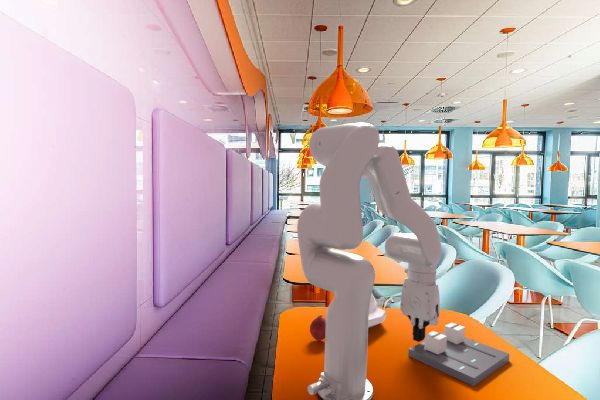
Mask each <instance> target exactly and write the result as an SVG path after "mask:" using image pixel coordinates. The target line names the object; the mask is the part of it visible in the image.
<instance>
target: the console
mask: <svg viewBox="0 0 600 400" xmlns="http://www.w3.org/2000/svg"><path fill="white" fill-rule="evenodd" d="M440 333H441V334H443V335H444V331H443V332H440ZM408 357H410V358H412V359H415V360H416V361H419V362H421V363H422V364H423V363H424V364H425V365H428V366H429V367H431V368H434V369H435V370H438V371H441V372H442V373H444V374H447V375H449V376H450V377H453V378H455V379H457V380H458V381H462V382H463V383H466V384H467V385H470V386H472V387H475V386H476V385H478V384H480V382H482V381H484V380H485V379H487V378H488V377H489V376H490V375H492V374H493V373H494V372H495V371H497V370H498V369H500V368H502V367H503V366H504V365H505V364H507V363H509V362H510V353H509V352H506V351H504V350H500V349H497V348H495V347H492V346H490V345H486V344H485V343H482V342H479V341H476V340H473V339H471V338H468V337H467V336H465V337H464V341H463V342H461V343H459V344H455V343H453V342H450V341H447V342H446V351H444V352H442V353H440V354H435V353H433V352H431V351H428V350H426V349H425V340H423V341H422V342H419V343H418V344H416V345H413V346H411V347H409V348H408Z"/></svg>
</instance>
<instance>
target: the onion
mask: <svg viewBox="0 0 600 400" xmlns="http://www.w3.org/2000/svg"><path fill="white" fill-rule="evenodd" d="M325 331H326V318H324V317H323V314H321V313H320V314H318V316H317V317H316V318H314V319H313V320H312V321H311V323H310V327H309V332H310V335H311V337H312V338H313V339H315V340H316V341H317V342H322V341H323V340H324V339H325Z"/></svg>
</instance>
